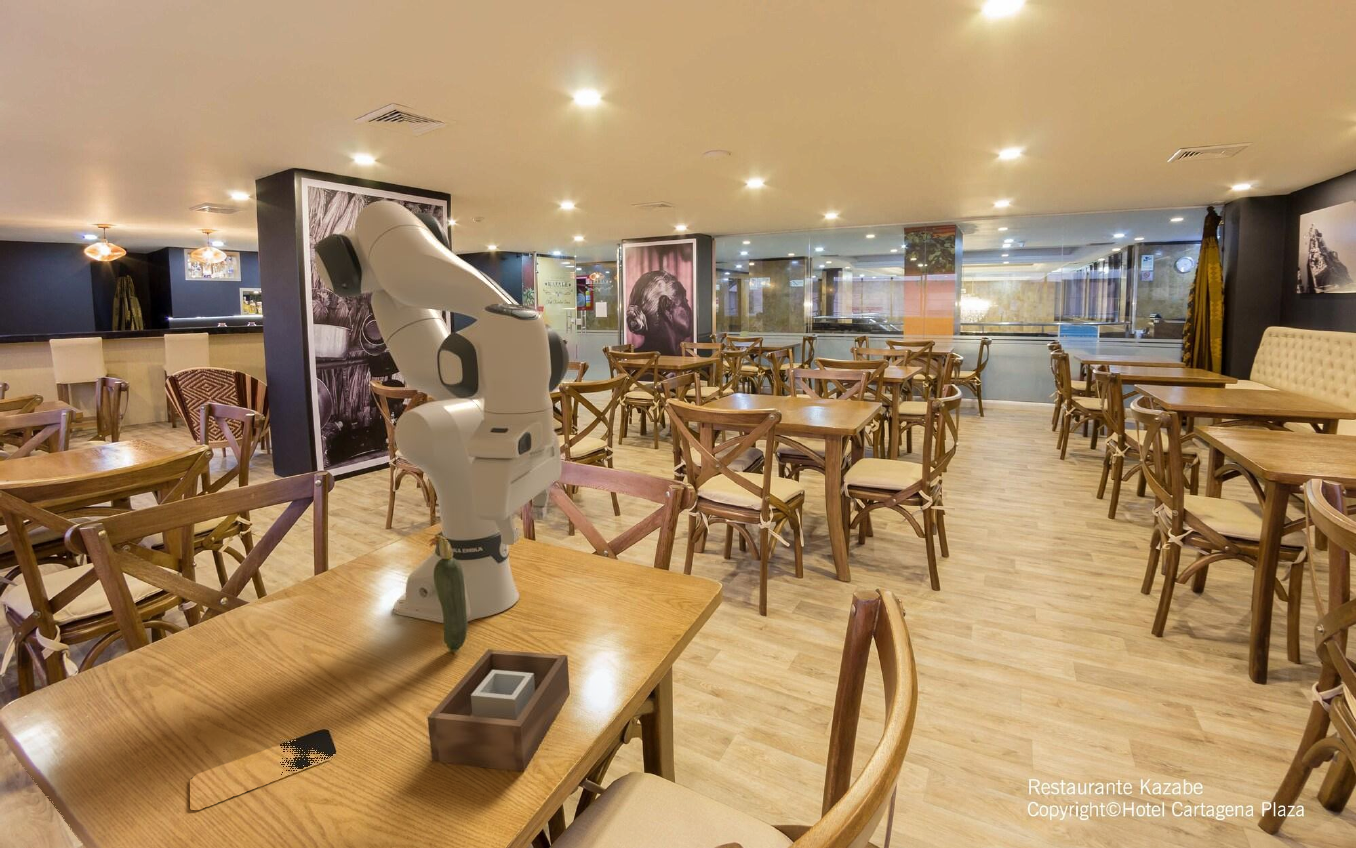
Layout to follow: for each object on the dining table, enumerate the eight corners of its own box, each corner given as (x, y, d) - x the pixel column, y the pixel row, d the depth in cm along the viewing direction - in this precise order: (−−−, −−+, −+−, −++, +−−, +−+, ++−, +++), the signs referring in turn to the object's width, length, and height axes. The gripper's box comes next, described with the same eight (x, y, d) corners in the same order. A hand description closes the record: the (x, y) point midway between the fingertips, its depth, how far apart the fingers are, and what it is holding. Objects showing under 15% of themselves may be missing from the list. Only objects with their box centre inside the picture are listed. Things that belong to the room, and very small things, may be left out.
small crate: (474, 730, 85) (470, 695, 84) (495, 703, 91) (492, 669, 90) (517, 735, 84) (514, 699, 83) (536, 706, 90) (533, 673, 89)
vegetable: (476, 649, 107) (465, 531, 104) (459, 662, 103) (447, 541, 100) (453, 645, 109) (442, 529, 105) (435, 658, 105) (423, 538, 101)
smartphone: (337, 755, 82) (189, 811, 74) (338, 760, 82) (190, 817, 74) (327, 726, 88) (189, 775, 79) (328, 731, 88) (189, 780, 79)
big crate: (432, 761, 81) (427, 717, 80) (491, 687, 96) (488, 649, 95) (524, 771, 79) (520, 726, 78) (569, 693, 94) (567, 655, 93)
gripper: (529, 414, 97) (534, 504, 100) (458, 446, 78) (466, 557, 80) (570, 416, 96) (574, 506, 99) (508, 448, 76) (515, 560, 79)
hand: (525, 530), depth 89 cm, fingers open, 8 cm apart
